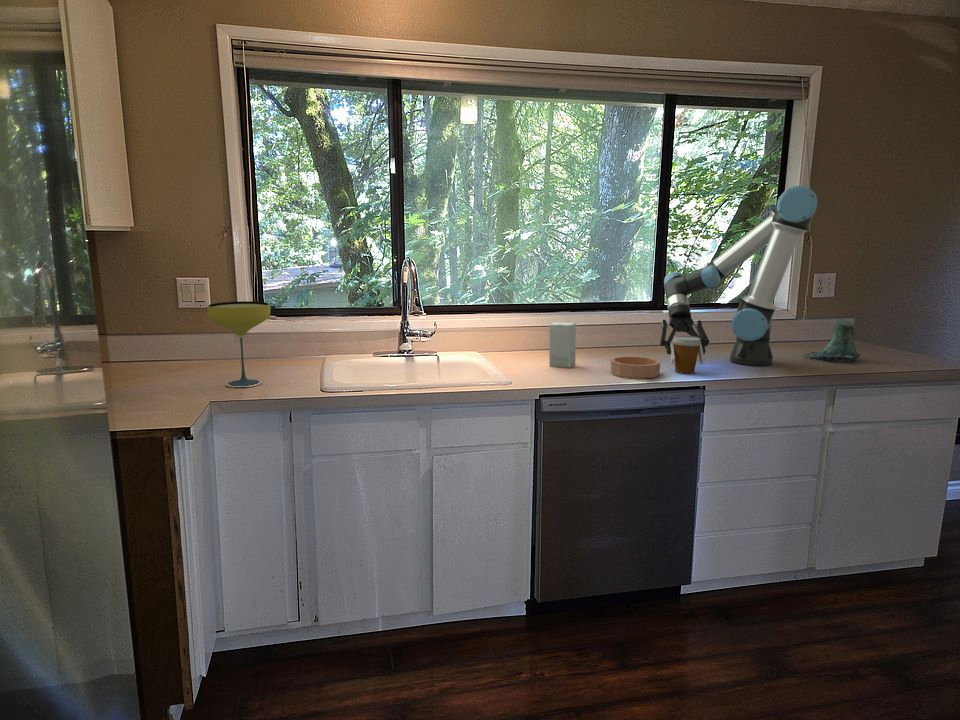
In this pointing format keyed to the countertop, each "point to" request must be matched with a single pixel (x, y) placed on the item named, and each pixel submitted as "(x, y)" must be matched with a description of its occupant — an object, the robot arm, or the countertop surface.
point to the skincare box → (562, 344)
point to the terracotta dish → (635, 367)
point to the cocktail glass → (239, 324)
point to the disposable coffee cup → (686, 353)
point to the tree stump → (838, 345)
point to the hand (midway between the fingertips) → (687, 361)
